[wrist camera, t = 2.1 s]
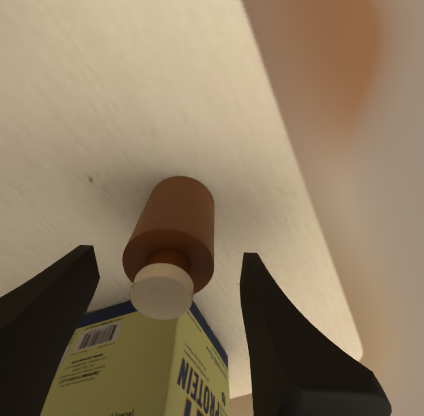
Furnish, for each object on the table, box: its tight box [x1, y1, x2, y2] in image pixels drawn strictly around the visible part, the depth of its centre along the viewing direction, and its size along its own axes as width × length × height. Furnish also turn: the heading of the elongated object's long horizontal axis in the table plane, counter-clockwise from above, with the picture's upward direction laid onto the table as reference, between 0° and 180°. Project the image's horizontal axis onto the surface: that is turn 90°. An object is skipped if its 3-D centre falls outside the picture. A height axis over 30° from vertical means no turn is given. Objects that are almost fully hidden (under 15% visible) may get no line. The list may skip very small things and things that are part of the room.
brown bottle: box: [122, 177, 214, 320], centre depth 15 cm, size 4×4×8 cm
